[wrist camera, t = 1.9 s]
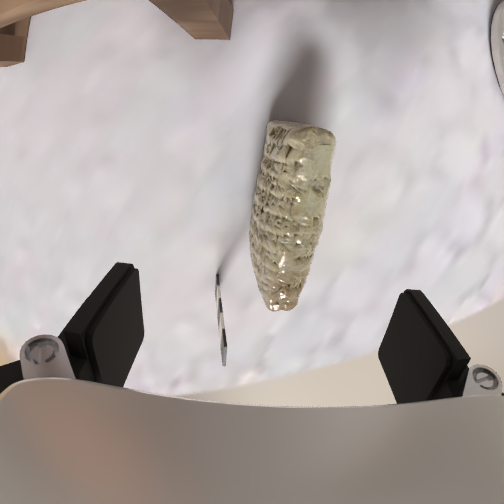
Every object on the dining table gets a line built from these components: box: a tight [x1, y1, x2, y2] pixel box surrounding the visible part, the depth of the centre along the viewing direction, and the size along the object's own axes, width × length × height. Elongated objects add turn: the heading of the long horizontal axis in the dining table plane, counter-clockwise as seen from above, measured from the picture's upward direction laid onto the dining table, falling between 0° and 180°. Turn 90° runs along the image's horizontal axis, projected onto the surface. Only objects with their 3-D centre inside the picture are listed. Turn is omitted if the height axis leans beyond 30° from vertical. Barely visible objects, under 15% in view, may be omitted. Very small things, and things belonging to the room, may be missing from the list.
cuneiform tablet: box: [215, 120, 336, 366], centre depth 17 cm, size 7×4×12 cm
